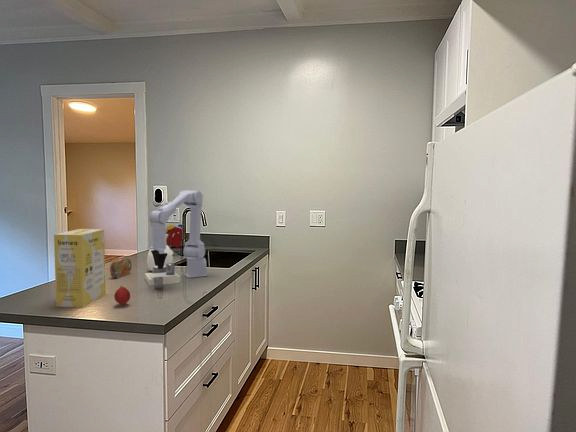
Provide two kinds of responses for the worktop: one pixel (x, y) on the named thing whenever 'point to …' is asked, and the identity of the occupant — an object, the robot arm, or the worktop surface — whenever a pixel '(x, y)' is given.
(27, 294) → the worktop surface
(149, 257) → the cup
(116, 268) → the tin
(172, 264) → the cylinder
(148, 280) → the kitchen scale
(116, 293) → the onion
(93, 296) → the pasta box
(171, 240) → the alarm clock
